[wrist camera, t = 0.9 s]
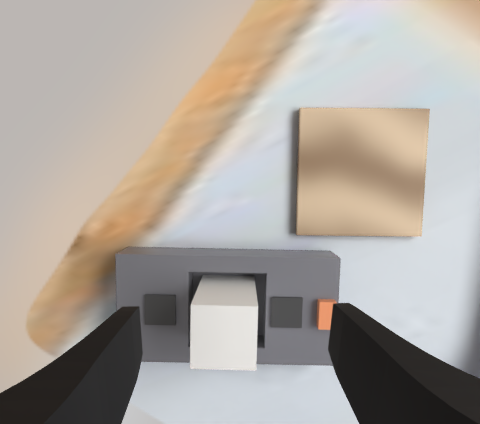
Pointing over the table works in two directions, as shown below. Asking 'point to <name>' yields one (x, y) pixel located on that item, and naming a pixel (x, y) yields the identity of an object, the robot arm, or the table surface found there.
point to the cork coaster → (361, 171)
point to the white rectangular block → (224, 324)
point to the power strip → (232, 264)
